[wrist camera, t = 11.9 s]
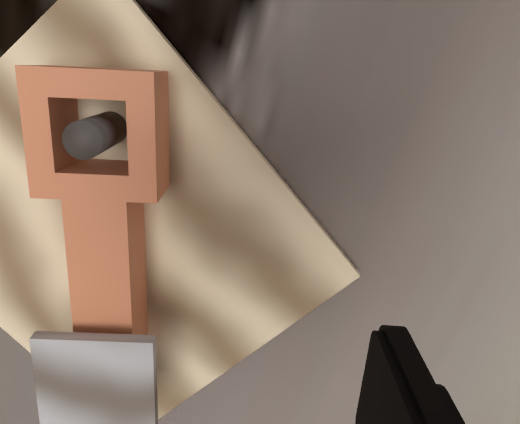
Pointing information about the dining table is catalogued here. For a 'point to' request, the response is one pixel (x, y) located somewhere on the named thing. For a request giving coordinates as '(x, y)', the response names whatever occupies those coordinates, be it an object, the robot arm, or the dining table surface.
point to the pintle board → (153, 235)
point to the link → (99, 185)
